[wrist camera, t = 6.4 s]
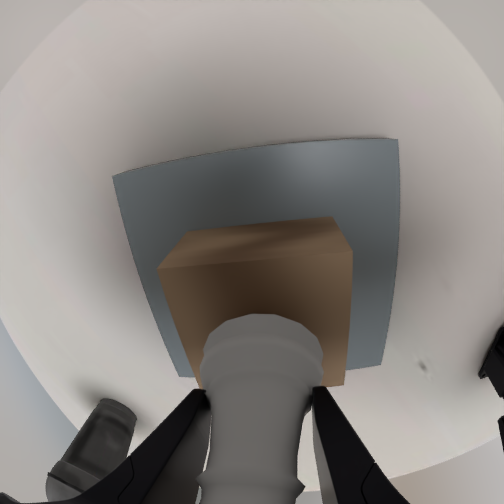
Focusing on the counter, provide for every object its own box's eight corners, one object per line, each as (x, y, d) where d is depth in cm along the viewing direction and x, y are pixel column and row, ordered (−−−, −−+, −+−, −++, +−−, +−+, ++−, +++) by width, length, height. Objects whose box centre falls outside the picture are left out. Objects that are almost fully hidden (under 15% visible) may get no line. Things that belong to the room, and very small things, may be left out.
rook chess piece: (190, 312, 10) (101, 530, 3) (317, 296, 9) (347, 564, 2) (223, 390, 12) (187, 556, 4) (324, 381, 11) (336, 562, 4)
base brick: (332, 216, 13) (352, 251, 9) (332, 333, 16) (343, 385, 12) (187, 231, 14) (156, 268, 10) (215, 340, 16) (201, 391, 13)
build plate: (386, 138, 12) (398, 139, 11) (375, 350, 18) (380, 364, 16) (126, 171, 14) (112, 176, 13) (184, 362, 20) (179, 376, 18)
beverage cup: (102, 419, 26) (48, 542, 8) (80, 382, 23) (6, 524, 5) (155, 434, 26) (109, 574, 8) (138, 400, 23) (73, 570, 5)
